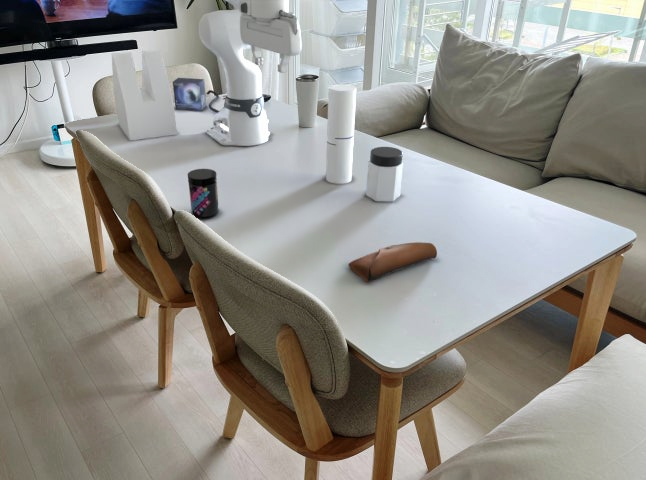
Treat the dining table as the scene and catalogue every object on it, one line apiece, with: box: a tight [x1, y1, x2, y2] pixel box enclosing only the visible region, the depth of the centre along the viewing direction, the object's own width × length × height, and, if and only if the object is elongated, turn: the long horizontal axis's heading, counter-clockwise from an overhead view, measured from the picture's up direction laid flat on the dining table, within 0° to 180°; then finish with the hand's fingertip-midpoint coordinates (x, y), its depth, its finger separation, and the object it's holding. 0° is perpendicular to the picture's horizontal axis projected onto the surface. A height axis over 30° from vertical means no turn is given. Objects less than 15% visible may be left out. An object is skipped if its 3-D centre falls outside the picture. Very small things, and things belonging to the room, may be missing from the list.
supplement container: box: [187, 168, 220, 220], centre depth 142 cm, size 7×7×10 cm
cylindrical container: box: [325, 83, 357, 185], centre depth 158 cm, size 7×7×25 cm
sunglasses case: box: [348, 241, 438, 283], centre depth 123 cm, size 18×7×7 cm
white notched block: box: [111, 49, 178, 141], centre depth 195 cm, size 19×15×25 cm
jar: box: [365, 146, 404, 203], centre depth 152 cm, size 9×8×12 cm
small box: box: [172, 77, 207, 112], centre depth 221 cm, size 11×6×10 cm, turn 81°
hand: (270, 68), depth 147 cm, fingers open, 8 cm apart
